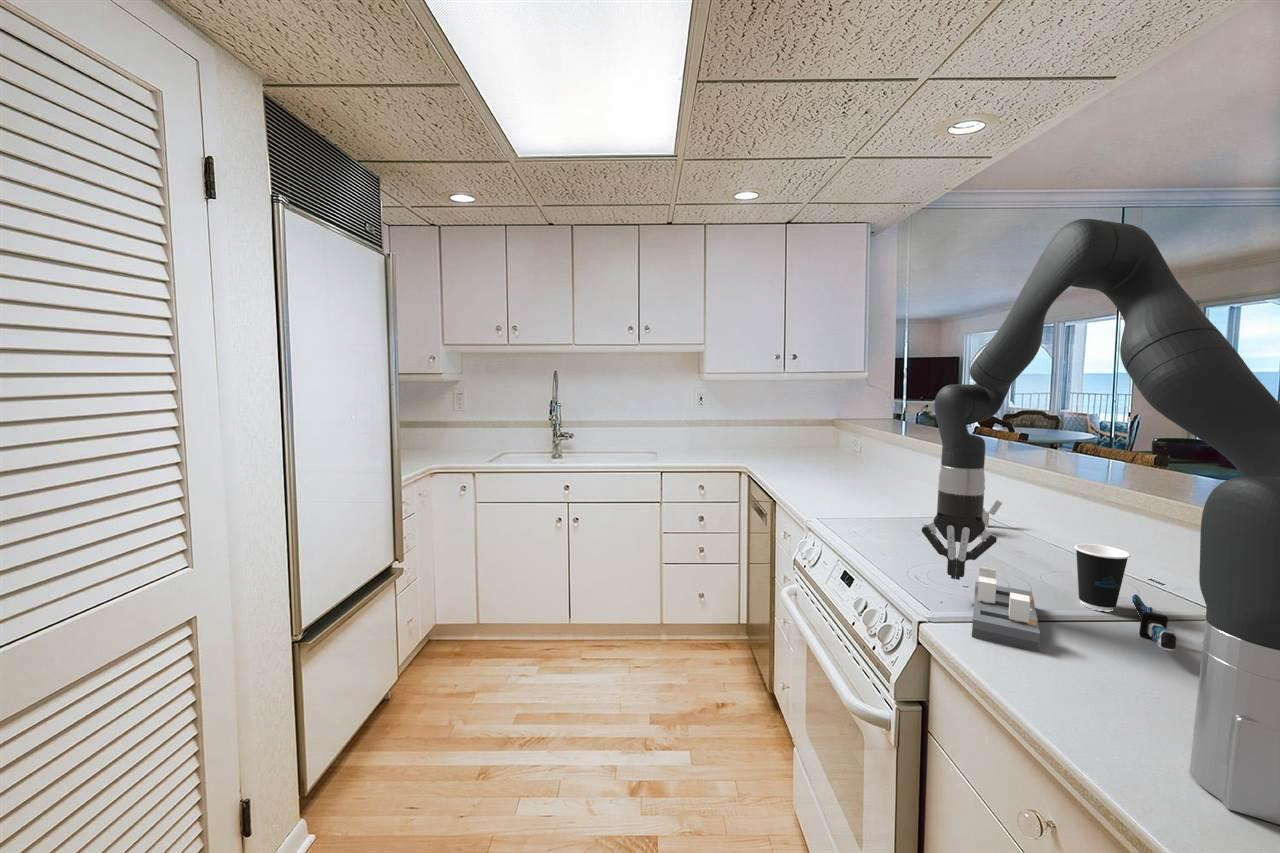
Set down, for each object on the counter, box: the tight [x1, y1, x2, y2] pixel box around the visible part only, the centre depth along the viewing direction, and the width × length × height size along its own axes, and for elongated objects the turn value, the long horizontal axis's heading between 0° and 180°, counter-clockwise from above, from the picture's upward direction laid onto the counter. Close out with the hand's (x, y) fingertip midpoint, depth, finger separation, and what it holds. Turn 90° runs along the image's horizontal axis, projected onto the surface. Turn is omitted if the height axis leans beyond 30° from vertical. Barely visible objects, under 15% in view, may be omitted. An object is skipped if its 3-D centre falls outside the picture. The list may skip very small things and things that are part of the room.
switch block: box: [971, 581, 1041, 653], centre depth 96 cm, size 20×9×3 cm, turn 147°
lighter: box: [983, 499, 1003, 528], centre depth 157 cm, size 7×2×8 cm, turn 60°
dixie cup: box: [1074, 543, 1131, 610], centre depth 102 cm, size 8×8×11 cm
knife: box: [1131, 593, 1177, 652], centre depth 92 cm, size 31×3×4 cm, turn 142°
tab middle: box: [978, 575, 997, 604], centre depth 97 cm, size 3×3×5 cm
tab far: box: [978, 566, 997, 585], centre depth 102 cm, size 3×3×5 cm
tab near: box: [1009, 592, 1030, 623], centre depth 90 cm, size 3×3×5 cm
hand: (955, 578), depth 105 cm, fingers closed
